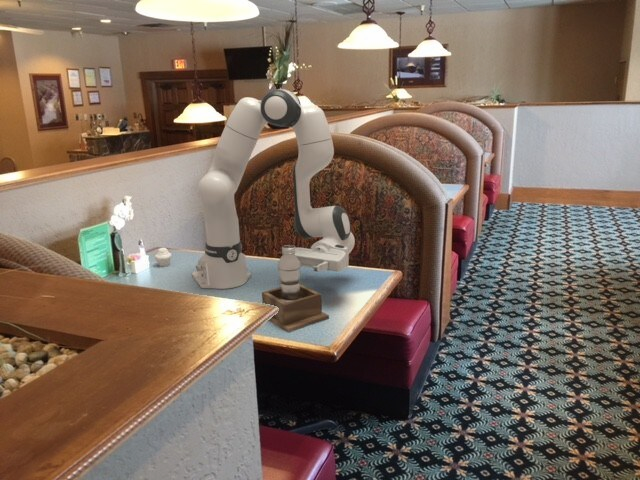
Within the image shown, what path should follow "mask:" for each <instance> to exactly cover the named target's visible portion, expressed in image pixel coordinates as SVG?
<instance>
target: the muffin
mask: <svg viewBox="0 0 640 480" xmlns="http://www.w3.org/2000/svg"><path fill="white" fill-rule="evenodd" d="M156 252H157V253H156V254H155V255H154V259H155V261H156V263H157V264H158V266H159V267H168V266H169V265H170V262H171V260H172V253H171V252H169V251H168V249H167V248H166V247H160V248H158V249H157V251H156Z"/></svg>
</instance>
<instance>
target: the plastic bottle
mask: <svg viewBox="0 0 640 480" xmlns="http://www.w3.org/2000/svg"><path fill="white" fill-rule="evenodd" d="M295 248H296V246H295V245H293V244H287V245H283V246H282V247H281V254H282V256H281V257H280V258H279V260H278V262H277V268H278V269H277V270H278V274H279V279H280V287H281V298H280V300H282V301H284V302H286V303H287V302H291V301H294V300H297V299H301V298H302V297H301V292H300V284H301V283H300V279H301V278H300V277H301V276H300V274H301V267H302V266H301V263H300V261H299V259H298V258H297V257H296V255H295V253H296V251H295Z"/></svg>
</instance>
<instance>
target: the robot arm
mask: <svg viewBox="0 0 640 480" xmlns="http://www.w3.org/2000/svg"><path fill="white" fill-rule="evenodd" d="M267 124H269V125H271V126H272V125H273V126H275V127H287V128H291V129H292V130H293V131H294V134H295V138H296V144H297V148H298V153H297V154H298V156H297V161H295V163H294V165H293V169H292V171H293V172H292V181H293V183H292V184H293V198H294V199H293V200H294V220H293V224H294V225H293V227H294V230H295V232H296V233H297V234H298V235H299V236H300V237H301V238H303V239H304V240H309V239H315V238H322V239H320V240H318V241H316V242H315V243H313V244H312V245H311V247H310V248H306V247H295V251H296V253H295V255H296V257H297V258H298V259H299V261H300V263H301V267H305V268H312V269H313V272H316V273H317V272H322V271H331V272H342V271H343V270H345V269H346V268H348V267H349V259H350V255H349V254H350V253H351V252H352V250H353V249H354V247H355V243H356V241H355V239H356V238H355V236H354V234H353V233H352V225H351V220H350V219H351V218H350V216H349V214H348V212H347V211H346V210H345V209H344V208H343V207H342V206H340V205H331V206H324V207H323V206H322V207H315V208H313V207H312V205H311V194H310V193H311V192H310V191H311V190H310V182H311V180H312V178H313V177H314V176H315V175H317V173H319V172H320V171H322V170H324V169H325V168H326V167H327V166H329V164H331V162H332V160H333V157H334V155H335V148H334V142H333V138H332V137H333V136H332V133H331V130H330V125H329V121H328V120H327V117H326V114H325V112H324V110H323V109H322V108H320V106H319V107H318V106H316V105H307V106H303V105H302V104H301V101H300V99H299V97H298V96H297V94H295V93H294V92H292V91H291V90H288V89H285V88H278V89H277V88H276V89H272V90H270V91H268V92H267V93H265V95H264V96H263V97H262V99H261V100H259V99H257V98H255V97H252V96H251V97H249V96H247V97H242V98H241V99H239V101H238V102H237V103H236V105H235V107H234V108H233V109H232V111H231V113H230V115H229V116H228V119H227V120H226V123H225V126H224V128H223V130H222V133H221V136H220V137H219V140H218V143H217V145H216V148H215V152H214V155H213V159H212V161H211V164H210V167H209V170H208V171H207V173H206V174H205V175H203V177H201V178H200V180H199V182H198V185H197V196H198V199H199V202H200V207H201V213H202V216H203V219H204V229H205V237H206V242H205V245H204V246H205V247H204V254H203V255H202V256H201V257H200V258H199V259H198V261H197V264H196V265H195V268H196V271H193V272H192V273H191V276H192V278H193V279H194V280H195V282H196V283H197V284H199V285H200V286H199V285H198V286H199V287H200V288H201V287H202V288H201V289H218V290H219V289H221V290H222V289H223V290H224V289H226V290H227V289H232V288H236V287H239V286H240V287H241V286H242V285H244V284H246V283H247V281H248V279H249V278H251V277H252V274H251V272H249V271H248V265H247V259H246V254H244V253H242V250H243V245H242V241H241V240H240V239H241V238H240V226H239V225H240V224H239V217H238V213H237V209H236V203H235V194H236V192H237V191H238V188H239V186H240V183H241V182H242V179H243V176H244V173H245V171H246V169H247V165H248V163H249V161H250V159H251V157H252V154H253V151H254V150H255V147H256V145H257V142H258V141H259V138H260V136H261V133H262V131H263V129H264V128H265V126H266V125H267Z"/></svg>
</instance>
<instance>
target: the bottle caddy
mask: <svg viewBox="0 0 640 480" xmlns="http://www.w3.org/2000/svg"><path fill="white" fill-rule="evenodd" d="M300 292H301V297H302V298H301V299H297V300H294V301H291V302H287V303H286V302H284V301H282V300H280V298H281V286H280V287H276V288H271V289H269V290H264V291H261V297H262V300H261V302H262V304H263V303H265V304H270V305H274V306H277V307H278V308H279V311H278V313H277V314H276V315H274V316H273V317H272V318H271V319H270V320H268V321H270V322H271V323H273V324H274V325H275V326H278V327H279V328H280V329H282V330H284V331H285V332H287V333H291V332H293V331H296V330H299V329H302V328H305V327H308V326H311V325H314V324H318V323H320V322H323V321H325V320H328V319H330V314H328V313H325V312H323V309H322V307H323V305H322V294H321V293H320V292H317V291H315V290H314V289H312V288H309V287H307V286H305V285H304V284H301V283H300Z"/></svg>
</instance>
